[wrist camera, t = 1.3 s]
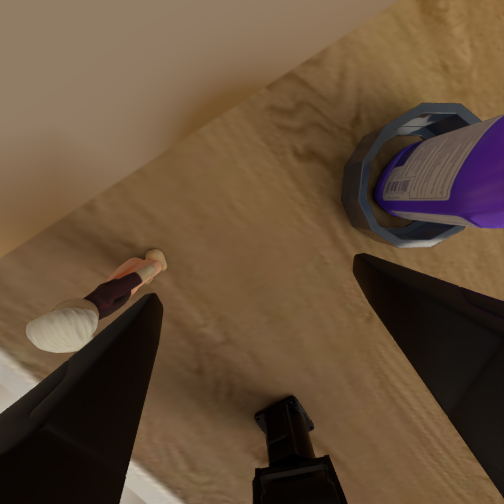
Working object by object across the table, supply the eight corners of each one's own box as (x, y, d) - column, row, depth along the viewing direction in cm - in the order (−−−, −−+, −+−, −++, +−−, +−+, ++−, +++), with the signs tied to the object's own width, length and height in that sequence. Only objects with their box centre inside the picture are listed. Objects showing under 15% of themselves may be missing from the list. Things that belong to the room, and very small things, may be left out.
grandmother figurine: (152, 233, 23) (45, 271, 10) (180, 256, 23) (111, 317, 11) (111, 282, 24) (-29, 369, 12) (139, 302, 25) (35, 405, 12)
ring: (470, 205, 23) (508, 206, 20) (368, 260, 24) (388, 270, 21) (436, 92, 21) (474, 71, 17) (323, 160, 22) (337, 153, 18)
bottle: (400, 225, 24) (795, 285, 7) (359, 202, 23) (691, 206, 6) (440, 164, 22) (1066, 47, 5) (398, 137, 21) (977, -101, 5)
